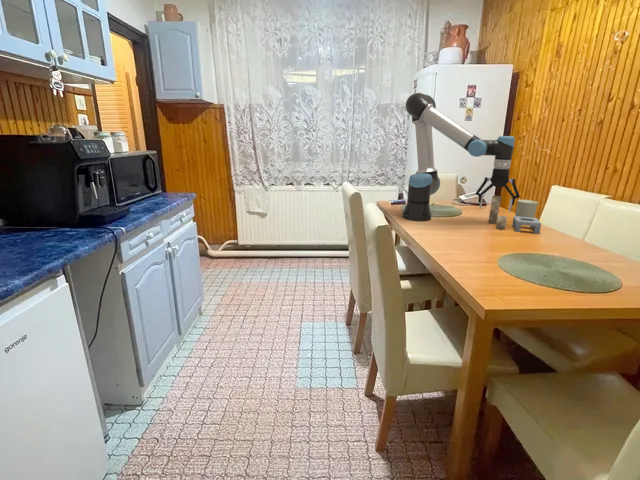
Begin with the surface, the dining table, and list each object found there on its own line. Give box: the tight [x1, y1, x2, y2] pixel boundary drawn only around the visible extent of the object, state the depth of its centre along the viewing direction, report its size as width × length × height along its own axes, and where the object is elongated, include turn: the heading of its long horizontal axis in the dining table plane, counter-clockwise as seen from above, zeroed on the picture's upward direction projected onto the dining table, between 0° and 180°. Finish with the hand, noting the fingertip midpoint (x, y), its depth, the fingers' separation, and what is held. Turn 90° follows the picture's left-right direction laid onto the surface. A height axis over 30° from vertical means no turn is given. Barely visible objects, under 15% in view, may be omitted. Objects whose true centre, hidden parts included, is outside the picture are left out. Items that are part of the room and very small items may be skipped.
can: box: [514, 199, 538, 218], centre depth 181 cm, size 9×9×12 cm
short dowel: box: [495, 215, 508, 231], centre depth 170 cm, size 4×4×6 cm
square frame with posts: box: [511, 215, 542, 235], centre depth 169 cm, size 10×12×5 cm
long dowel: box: [487, 195, 502, 225], centre depth 179 cm, size 4×4×14 cm
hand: (494, 210), depth 179 cm, fingers open, 13 cm apart
